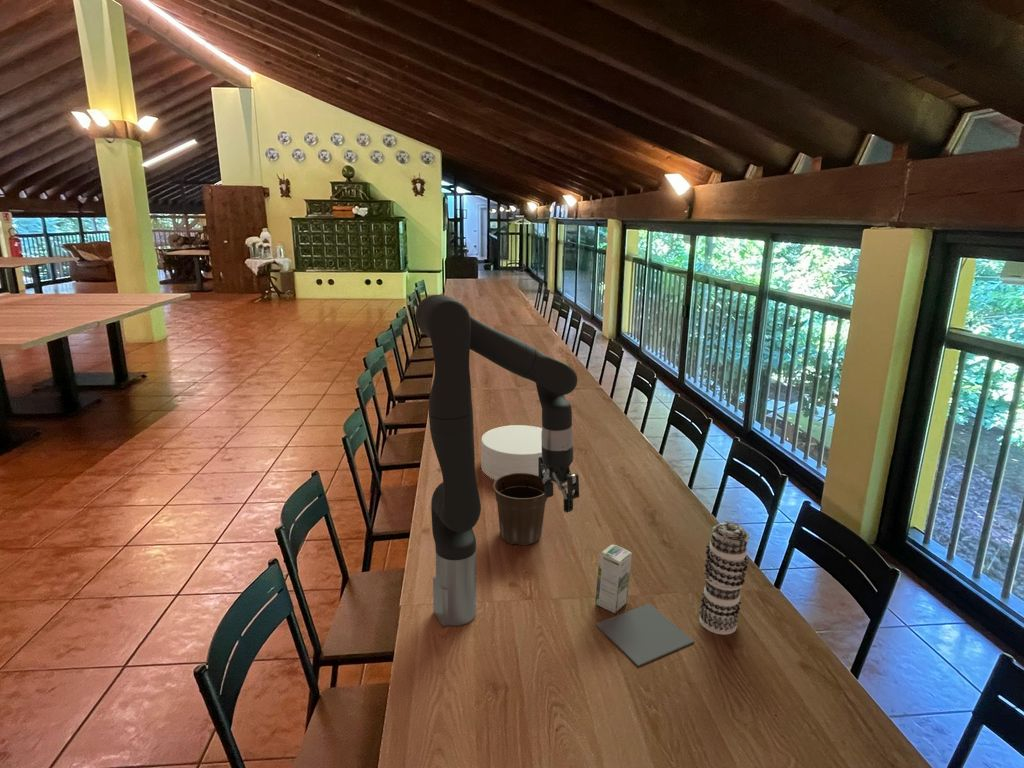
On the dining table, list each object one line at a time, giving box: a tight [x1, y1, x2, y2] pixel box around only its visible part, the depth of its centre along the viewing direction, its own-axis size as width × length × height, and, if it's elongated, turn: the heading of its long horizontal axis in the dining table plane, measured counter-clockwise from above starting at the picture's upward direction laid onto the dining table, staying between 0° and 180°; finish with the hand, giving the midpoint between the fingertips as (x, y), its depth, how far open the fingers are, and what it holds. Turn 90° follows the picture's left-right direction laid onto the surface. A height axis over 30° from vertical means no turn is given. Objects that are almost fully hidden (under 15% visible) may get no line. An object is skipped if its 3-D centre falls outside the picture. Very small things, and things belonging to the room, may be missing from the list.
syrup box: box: [595, 544, 633, 614], centre depth 148 cm, size 6×6×14 cm
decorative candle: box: [698, 521, 751, 636], centre depth 141 cm, size 9×9×25 cm
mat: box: [595, 603, 695, 668], centre depth 140 cm, size 16×15×1 cm
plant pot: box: [492, 473, 548, 546], centre depth 178 cm, size 16×16×16 cm
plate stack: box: [480, 424, 545, 481], centre depth 223 cm, size 28×28×12 cm
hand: (558, 503), depth 151 cm, fingers open, 8 cm apart
